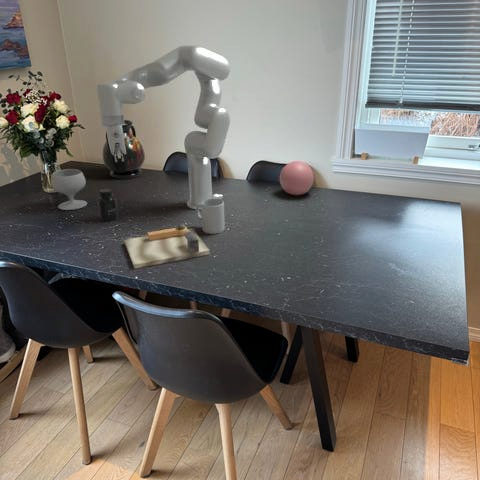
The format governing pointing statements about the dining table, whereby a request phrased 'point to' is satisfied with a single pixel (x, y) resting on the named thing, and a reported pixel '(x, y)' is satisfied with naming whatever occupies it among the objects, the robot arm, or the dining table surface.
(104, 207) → the supplement bottle
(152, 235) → the link
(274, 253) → the dining table surface
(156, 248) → the pivot board
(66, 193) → the chalice
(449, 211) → the dining table surface
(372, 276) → the dining table surface
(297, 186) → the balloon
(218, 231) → the mug
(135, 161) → the amphora vase
